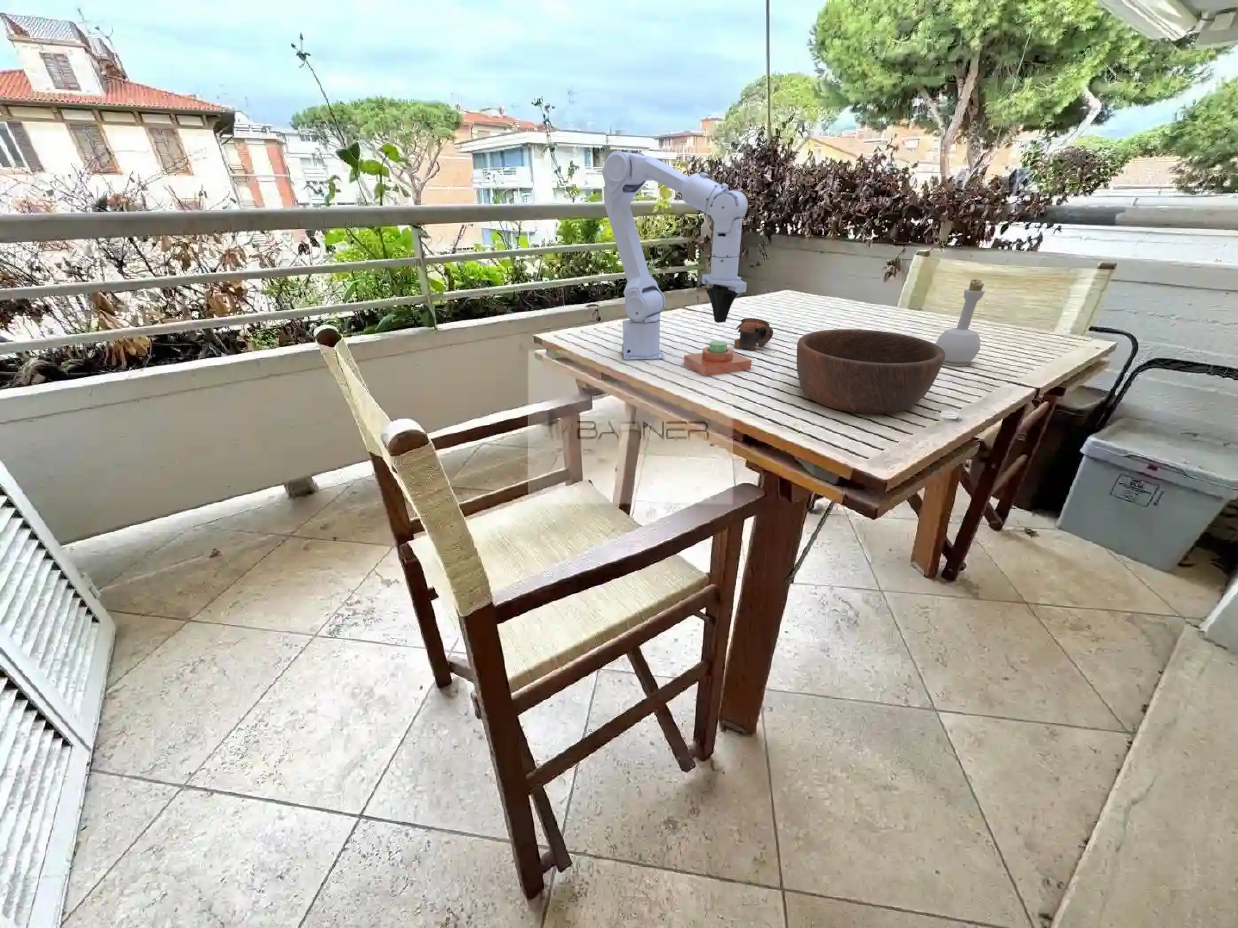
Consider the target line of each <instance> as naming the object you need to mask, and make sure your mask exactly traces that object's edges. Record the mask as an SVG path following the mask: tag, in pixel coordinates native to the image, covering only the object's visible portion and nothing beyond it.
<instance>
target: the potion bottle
mask: <svg viewBox="0 0 1238 928" xmlns="http://www.w3.org/2000/svg"><path fill="white" fill-rule="evenodd" d="M984 286H985V283H983V282H982V280H981V279H977V278H976V279H975V278H973V279H971V280H970V283H969V287H968V288H967V289H964V291H963V299H964V304H963V307H962V311H961V313H960V317H959V320H958V323H957V326H956V327H953V328H948V329H945V330H944V331H943V332H942V333H941V334H940V335H939V337H938V338H937V340H936V341H935V343H934V344H936V345H937V346H939V347H940V348H942V349H943V350H944V352H945V360H944V362H943V365H946V366H952V367H953V366H954V367H967V366H969V365H970V364H971V361H973V360H974V359H975V358H976V357H977V355H978V353H979V352H980V351H981V338H980V335H979V333H978V332H977V331H975V330H971V329H970V328H969V327H970V324H971V321H972V318H973V315H974V312H975V309H976V306H977V303H978V302H979V301H980V300H981V299H982V298H983V297H984V294H985V292H986V290H983V288H984Z"/></svg>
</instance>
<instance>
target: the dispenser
mask: <svg viewBox="0 0 1238 928" xmlns="http://www.w3.org/2000/svg"><path fill="white" fill-rule="evenodd" d="M683 365H684V366H686V367H687V368H689V369H691V370H693V371H694V372H697V373H698V374H700V375H702V376H703V377H710V376H711V377H712V376H716V375H724V374H729V373H737V372H742V371H748V370H749V371H750V370H751V369H752V359H750V358H747V357H745V356H743V355H741V354H739V353H737V352H734V349H733V348H730V347H729V346H727V352H724V353H714V352H710V351H709V346H705V347H703V348H702V352H699V353H691V354H684V355H683Z"/></svg>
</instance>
